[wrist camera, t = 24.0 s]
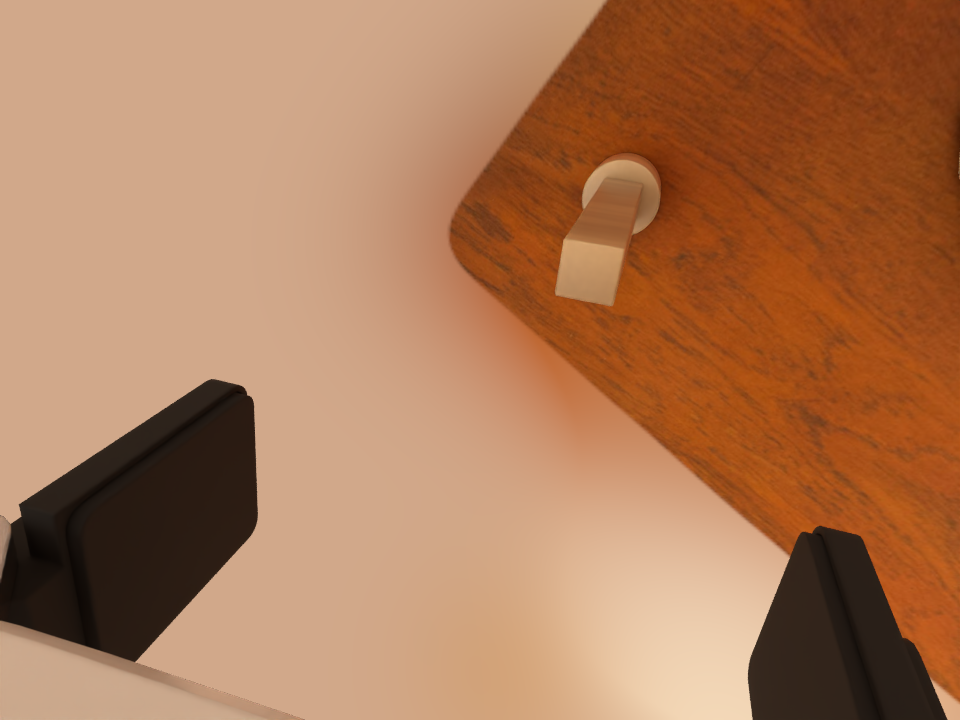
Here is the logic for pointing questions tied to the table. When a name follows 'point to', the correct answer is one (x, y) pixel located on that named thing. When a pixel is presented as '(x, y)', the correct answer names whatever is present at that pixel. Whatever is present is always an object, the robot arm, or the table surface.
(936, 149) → the table surface
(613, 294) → the stirrer
